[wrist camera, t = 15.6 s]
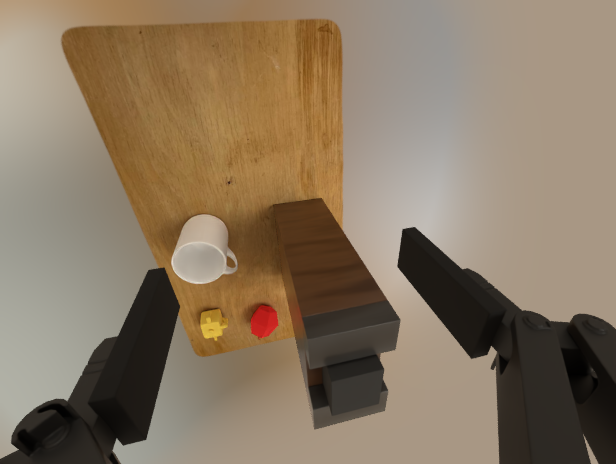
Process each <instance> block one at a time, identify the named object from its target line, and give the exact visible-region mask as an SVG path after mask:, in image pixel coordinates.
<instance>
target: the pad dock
mask: <svg viewBox="0 0 616 464" xmlns="http://www.w3.org/2000/svg"><path fill="white" fill-rule="evenodd" d="M273 206H274V214H275V222H276V230H277V238H278V246H279V254H280V262H281V270H282V277H283V282H284V286H285V291H286V296H287V301H288V305H289V310H290V315H291V320H292V325H293V329H294V334H295V339H296V344H297V348H298V353H299V358H300V363H301V368H302V372H303V377H304V382H305V387H306V392H307V396H308V401H309V406H310V411H311V415H312V420H313V425H314V429H318V428H322V427H326V426H330V425H333V424H337V423H340V422H344V421H348V420H352V419H355V418H359V417H363V416H367V415H371V414H375V413H378V412H382V411H385V407H386V401H387V395H388V389H387V387H386V385H385V383H384V381H382V387H381V394H380V401H379V404H377V405H373V406H369V407H365V408H361V409H358V410H354V411H350V412H346V413H342V414H338V415H335V416H332V415H331V411H330V407H329V404H328V400H327V396H326V393H325V389H324V385H323V381H322V367H323V366H328V365H332V364H336V363H340V362H345V361H349V360H353V359H358V358H362V357H366V356H371V355H375V354H377V356H378V358H379V360H380V354H381V353H383V352H388V351H392V350H395V349H396V343H397V337H398V332H399V326H400V318H399V317H398V315H397V314H396V312H395V311H394V309H393V308H392V306H391V305H390V303H389V301H388V300H387V299H386V297H385V296H384V294H383V292H382V291H381V290H380V288H379V286H378V285H377V283H376V282H375V280H374V278H373V277H372V275H371V274H370V272H369V271H368V269H367V268H366V266H365V265H364V263H363V261H362V260H361V258H360V257H359V255H358V254H357V252H356V251H355V249H354V247H353V246H352V245H351V243H350V241H349V240H348V238H347V237H346V235H345V234H344V232H343V230H342V229H341V227H340V226H339V224H338V223H337V221H336V220H335V218H334V217H333V215H332V213H331V212H330V210H329V209H328V207H327V206H326V204H325V203H324V201H323V200H322V198H320V199H312V200H305V201H298V202H290V203H283V204H275V205H273Z"/></svg>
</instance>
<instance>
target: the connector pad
mask: <svg viewBox="0 0 616 464" xmlns="http://www.w3.org/2000/svg"><path fill="white" fill-rule="evenodd" d="M383 374H384V368H383V366H382V364H381V362H380V360H379V358H378V356H377V354H375V355H371V356H366V357H362V358H358V359H353V360H349V361H345V362H340V363H336V364H332V365H328V366H323V367H322V381H323V385H324V389H325V393H326V396H327V400H328V404H329V407H330V411H331V415H332V416H335V415H338V414H342V413H346V412H350V411H354V410H358V409H361V408H365V407H369V406H373V405H377V404H379V401H380V394H381V387H382V381H383Z"/></svg>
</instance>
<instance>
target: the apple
mask: <svg viewBox="0 0 616 464" xmlns="http://www.w3.org/2000/svg"><path fill="white" fill-rule="evenodd" d="M277 326H278V319H277V312H276V311H275V310H274V309H273V308H272V307H269V306H264V305H261V306H260V307H259V308H258V309H257V310H256V311H255V313H254V314H253V316H252V319H251V331H252V334H254V335H256V336H258V339H259V340H260V339H261V338H263V337H266V336H269V335H270V334H271V333H272V332H273V330H274V329H275V328H276V327H277Z"/></svg>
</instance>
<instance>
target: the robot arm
mask: <svg viewBox="0 0 616 464" xmlns="http://www.w3.org/2000/svg"><path fill="white" fill-rule="evenodd" d="M398 268H399V269H400V271H401V272H402V273H403V274H404V276H405V277H406V278H407V279H408V281H409V282H410V283H411V284H412V285H413V287H414V288H415V289H416V290H417V292H418V293H419V294H420V295H421V297H422V298H423V299H424V300H425V302H426V303H427V304H428V305H429V307H430V308H431V309H432V310H433V312H434V313H435V314H436V315H437V317H438V318H439V319H440V320H441V321H442V323H443V324H444V325H445V326H446V328H447V329H448V330H449V331H450V332H451V334H452V335H453V336H454V338H455V339H456V340H457V341H458V342H459V344H460V345H461V346H462V348H463V349H464V350H465V351H466V353H467V354H468V355H469V356H470V358H471V359H472V358H477V357H481V356H484V355H487V354H488V352H489V350H490V347H491V346H492V347H493V348H494V349H495V350H496V351H497V354H496V357H495V359H494V361H493V363H492V365H491V369H492V370H494V368H495V366H496V383H497V410H498V436H499V464H591V463H590V459H589V455H588V451H587V448H586V444H585V440H584V436H585V438H586V440H587V442H588V444H589V446H590V448H591V449H592V451H593V454H594V455H595V457H596V459H597V461H598V463H599V464H616V329H615V328H614V327H613V326H612V325H610V324H609V323H607V322H606V321H604V320H602V319H600V318H598V317H595V316H592V315H588V314H577V315H575V316H573V318H572V320H571V321H570V323H568V322H554V321H549V320H548V319H547V318H545V317H544V316H542V315H540V314H538V313H535V312H531V311H526V310H525V311H522V310H521V309H519V308H518V307H517V306H516V305H515V304H514V303H513V302H511V301H510V300H509V299H508V298H506V296H504V295H503V294H502V293H501V292H500V291H498V290H497V289H495V288H494V286H493V285H491V284H490V283H488V282H487V280H485V279H484V278H483V277H482V276H481V275H479V274H478V273H476V272H474V271H472V270H470V269H468V268H467V269H461V268H460V267H459V266H458V265H457V264H456V263H454V262H453V261H452V260H451V259H450V258H449V257H448V256H447V255H445V254H444V253H443V252H442V251H441V250H440V249H439V248H438V247H436V246H435V245H434V244H433V243H432V242H431V241H430V240H429V239H428V238H426V237H425V236H424V235H423V234H422V233H421V232H420V231H418V230H417V229H416V228H415V227H413V228H406V229H403V231H402V237H401V245H400V252H399V259H398ZM179 309H180V305H179V303H178V300H177V298H176V295H175V293H174V290H173V288H172V285H171V283H170V280H169V278H168V275H167V273H166V270H165V268H158V269H152V270H148V272H147V274H146V277H145V279H144V281H143V283H142V285H141V287H140V290H139V292H138V294H137V296H136V298H135V300H134V303H133V305H132V307H131V309H130V311H129V314H128V316H127V318H126V320H125V322H124V324H123V327H122V329H121V331H120V333H119V335H118V336H117V337H112V338H107V339H104V341H103V342H102V343H101V344H100V345H99V346H98V347H97V348H96V349H95V350H94V352H93V354H92V356H91V357H90V359H89V361H88V365H86V367H85V369H84V371H83V373H82V376H80V378H79V380H78V382H77V384H76V386H75V388H74V390H73V392H72V394H71V396H70V398H69V400H68V401H66V400H64V399H54V400H51V401H48V402H45V403H43V404H42V405H40V406H38V407H36V408H35V409H34V410H33V411H31V412H30V413H29V414H27V415H26V416H25V417H24V418H23V419H22V421H21V422H20V423H19V424H18V425H17V427H16V428H15V430H14V432H13V435H12V440H11V444H12V445H14V446H15V447H16V448H17V449H19V450H17V451H16V452H13V453H11V454H9V455H7V456H5V457H3V458H1V459H0V464H121V463H120V462H119V460H118V458H117V457H116V455H115V453H114V452H113V451H112V450H113V447H114V444H115V441H116V438H117V439H118V440H119V441H120V442H121V444H122V445H127V444H131V443H135V442H139V441H143V440H146V438H147V434H148V430H149V426H150V423H151V419H152V415H153V411H154V407H155V402H156V399H157V395H158V391H159V387H160V383H161V379H162V375H163V371H164V368H165V364H166V360H167V356H168V352H169V348H170V344H171V340H172V336H173V332H174V328H175V324H176V320H177V316H178V312H179ZM594 371H595V372H594ZM583 434H584V436H583Z"/></svg>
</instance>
